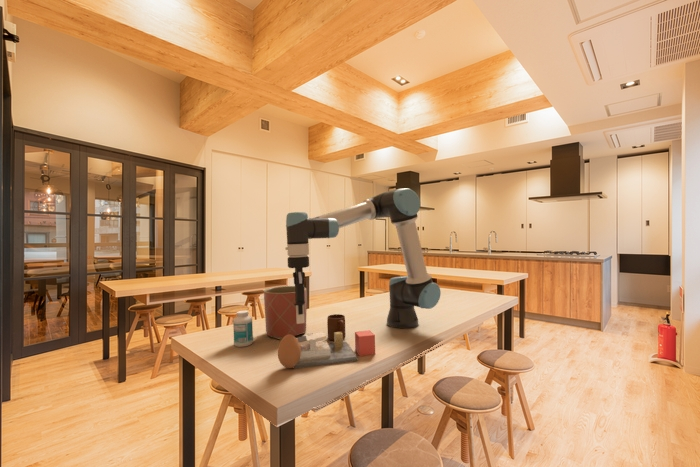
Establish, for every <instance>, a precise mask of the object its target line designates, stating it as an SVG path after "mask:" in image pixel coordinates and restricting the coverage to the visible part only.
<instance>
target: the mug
mask: <svg viewBox="0 0 700 467" xmlns="http://www.w3.org/2000/svg"><path fill="white" fill-rule="evenodd" d="M326 319H327V325H326V326H327V338H328V340H329V341H332V342H334V332H342V333H343V340H345V339H346V317H345V315H344V314H340V313H339V314H335V313H334V314H329V315H328V316H327V318H326Z"/></svg>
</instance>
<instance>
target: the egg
mask: <svg viewBox="0 0 700 467" xmlns="http://www.w3.org/2000/svg"><path fill="white" fill-rule="evenodd" d="M297 338H298V337H296V336H293V335H290V334H289V335H286V336H284V337H283V339H282V340H280V341H279V345H278V348H277V358H278V361H279V363H280V365H281V366H283V367H284V368H286V369H293V367H294V366H295V365H296V364H297V363H298V361H299V359H300V356H301V347H300V344H299V342H298V340H297Z"/></svg>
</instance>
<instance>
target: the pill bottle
mask: <svg viewBox="0 0 700 467" xmlns="http://www.w3.org/2000/svg"><path fill="white" fill-rule="evenodd" d="M232 323H233V326H232V327H233V345H234V346H235V347H237V348H242V347H243V348H244V347H248V346H250V345H252V344H253V343H254V336H253V335H254V334H253V333H254V331H253V329H254V328H253V318H252V316H250V315H249V310H247V309H245V310H239V311H236V316H235V317H234V319H233V321H232Z"/></svg>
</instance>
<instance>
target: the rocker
mask: <svg viewBox="0 0 700 467" xmlns="http://www.w3.org/2000/svg"><path fill="white" fill-rule="evenodd" d="M296 338H297V340H298V342H299V344H300V346H301V345H305V344H310V339H316V342H323V341H325V340H326V341H327V338H328V337H327V335H326V333H325V332H324V331H323V332H317V333H313V335H309V336H308V335H303V336H299V337H298V336H297V337H296Z"/></svg>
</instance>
